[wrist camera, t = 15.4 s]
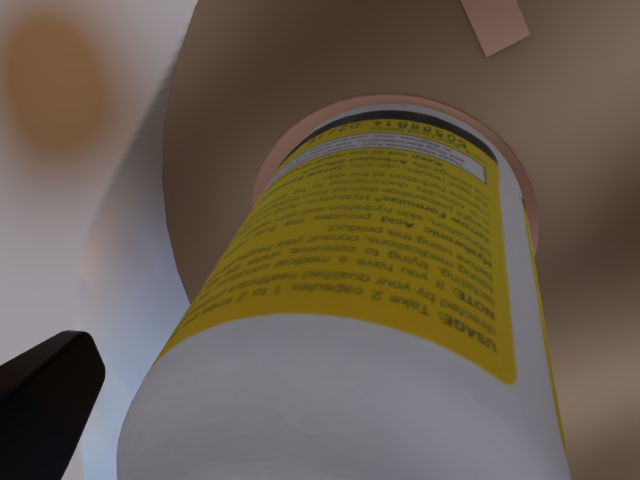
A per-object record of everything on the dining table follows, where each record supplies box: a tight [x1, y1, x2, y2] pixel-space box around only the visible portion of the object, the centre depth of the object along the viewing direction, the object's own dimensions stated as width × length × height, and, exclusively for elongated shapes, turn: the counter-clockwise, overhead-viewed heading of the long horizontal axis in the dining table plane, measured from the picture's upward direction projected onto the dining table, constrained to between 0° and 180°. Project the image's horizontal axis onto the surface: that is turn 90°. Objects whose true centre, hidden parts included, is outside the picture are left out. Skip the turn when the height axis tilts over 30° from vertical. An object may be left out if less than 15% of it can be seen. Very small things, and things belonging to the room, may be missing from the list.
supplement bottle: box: [117, 103, 572, 480], centre depth 8 cm, size 5×5×10 cm
